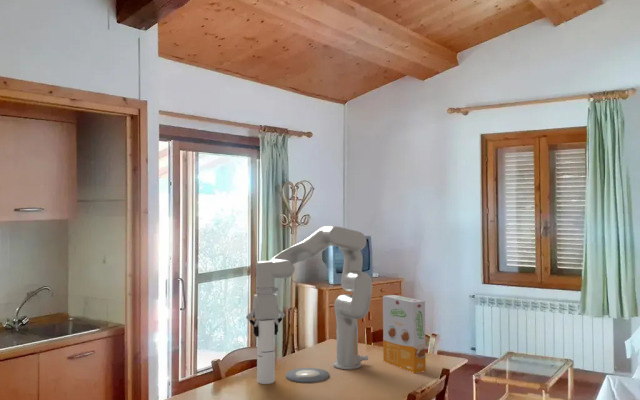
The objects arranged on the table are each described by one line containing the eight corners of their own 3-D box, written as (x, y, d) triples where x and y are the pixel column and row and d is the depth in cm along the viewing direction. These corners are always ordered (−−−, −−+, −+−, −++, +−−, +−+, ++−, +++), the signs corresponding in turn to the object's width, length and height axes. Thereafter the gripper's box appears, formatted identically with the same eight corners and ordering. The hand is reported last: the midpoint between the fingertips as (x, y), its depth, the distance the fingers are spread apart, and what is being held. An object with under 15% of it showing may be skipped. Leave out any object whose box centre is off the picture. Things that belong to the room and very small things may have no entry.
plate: (319, 368, 243) (319, 365, 243) (335, 379, 226) (335, 376, 226) (280, 373, 236) (280, 370, 236) (294, 384, 220) (294, 381, 220)
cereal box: (425, 371, 238) (424, 301, 238) (414, 373, 235) (413, 302, 235) (394, 359, 257) (393, 294, 258) (383, 361, 254) (382, 295, 255)
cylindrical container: (271, 384, 221) (271, 321, 221) (254, 383, 222) (254, 320, 223) (276, 379, 228) (276, 318, 228) (260, 378, 229) (260, 317, 230)
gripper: (283, 289, 232) (283, 331, 232) (242, 291, 226) (242, 335, 226) (288, 291, 225) (289, 335, 225) (247, 293, 219) (247, 338, 219)
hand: (265, 334), depth 225 cm, fingers closed on cylindrical container, 7 cm apart
